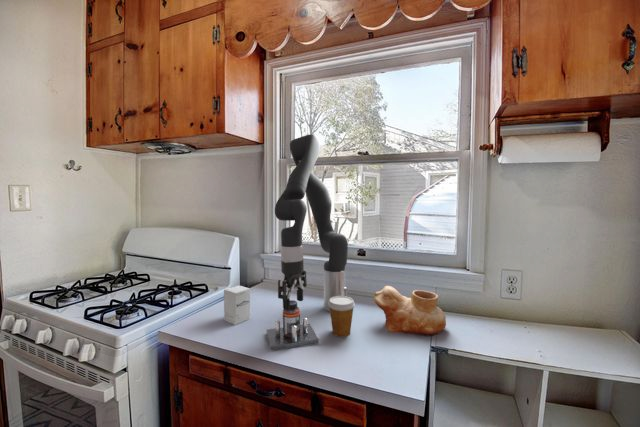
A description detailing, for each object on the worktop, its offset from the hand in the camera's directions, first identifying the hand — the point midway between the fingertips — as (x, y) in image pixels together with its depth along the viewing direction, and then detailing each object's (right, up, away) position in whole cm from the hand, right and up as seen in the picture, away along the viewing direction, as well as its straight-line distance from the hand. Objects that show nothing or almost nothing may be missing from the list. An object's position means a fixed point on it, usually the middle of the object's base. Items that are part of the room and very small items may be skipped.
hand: (293, 305), depth 98 cm
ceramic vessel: (+42, -12, +10) cm, 45 cm away
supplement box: (-24, -11, +16) cm, 31 cm away
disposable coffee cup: (+17, -12, +5) cm, 21 cm away
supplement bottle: (-1, -11, +1) cm, 11 cm away
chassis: (-1, -12, +1) cm, 12 cm away
